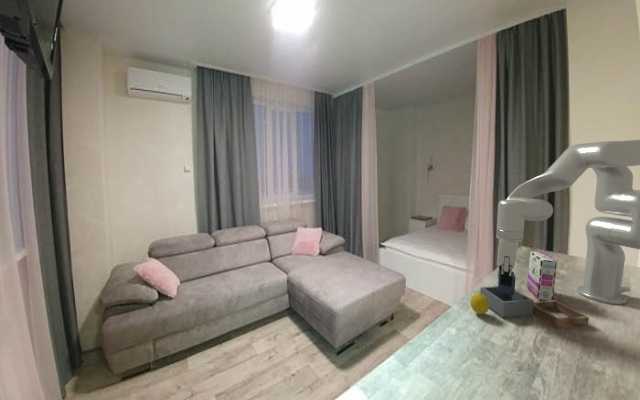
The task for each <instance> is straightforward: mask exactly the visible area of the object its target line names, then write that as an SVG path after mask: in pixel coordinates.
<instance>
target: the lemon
mask: <svg viewBox="0 0 640 400" xmlns="http://www.w3.org/2000/svg"><path fill="white" fill-rule="evenodd" d="M470 307H471V309H472V311H474V312H475V314H478V315H479V316H481V315H484V314H486V313H488V311H489V310H490V309H489V302H488V299H487V298H486V297H485V296H484V295H482V294H481V293H475V294H473V295H472V296H471V298H470Z"/></svg>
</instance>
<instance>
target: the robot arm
mask: <svg viewBox="0 0 640 400" xmlns="http://www.w3.org/2000/svg"><path fill="white" fill-rule="evenodd" d="M563 151H564V152H562V154H561V155H560V156H559V157H558V158H557V159H556V160H555V161H554V162H553V163H552V164H551V165H550V167H548V169H547V170H546V171H545V172H544V173H542V174H539V175H537V176H535V177H532V178H531V179H529V180H527V181H525V182H524V183H523V182H522V184H520V185H519V186H517V187H516V188H515V189H514V190H512V191H511V193H510V194H509V195H508V196H507V198H505V199H502V200H499V202H498V204H497V215H496V216H497V219H496V235H495V237H496V238H497V239H498V247H497V260H496V261H497V262H496V265H497V267H499V266H501V265H502V273H501V279H500V284H501V285H505V286H510V287H511V285H512V276H511V272H513V269H515V266H516V262H517V256H518V248H519V242H522V241H523V240H524V231H525V230H524V229H525V221H535V222H541V221H545V220H548V219H549V218H551V217H552V215H553V213H554V207H553V206H552V204H551V203H550V202H548V201H546V200H544V199H539V198H535V197H537V196H540V195H543V194H548V193H552V192H557V191H561V190H565V189H567V188H570V187H572V186H573V184H575V183H576V181H577V180H579V178H580V177H581V176H582V175H583V174H584V173H585V171H586V170H588V169H590V168H591V169H592V170H593V171H594V173H595V176H596V188H595V194H594V195H595V196H594V208H595V209H596V210H597V212H600V213H603V214H608V215H615V216H621V217H622V216H623V217H628V218H629V217H630V218H632V220H629V219H624V218H618V217H617V218H616V217H609V216H596V217H593V218H590V219H589V220H588V221H587V222H586V223H585V224H586V225H585V234H586V240H587V246H586V247H587V248H586V258H585V265H584V277H583V285H580V286H578V287H577V292H578V294H580V295H582V296H583V297H586V298H588V299H591V300H592V301H593V300H594V301H597V302H600V303H604V304H605V303H606V304H610V305H624V304H626V303H627V298H626V297H625V296H624V295H623V293H628V292H631V289H630V287H629V286H622V285H623V278H624V277H623V276H624V270H625V269H624V268H625V261H626V255H625V252H624V250H623V247H626V248H630V249H635V250H640V190H639V189H638V190H637V189H634V187H633V184H634V183H633V182H634V175H633V172H632V171H631V169H630V168H629V167H635V166H640V139H631V140H630V139H629V140H612V141H611V140H610V141H597V142H596V141H594V142H586V143H585V142H584V143H577V144H573V145H570V146H569V147H567V148H566V149H565V150H563Z"/></svg>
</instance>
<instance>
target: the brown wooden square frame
mask: <svg viewBox="0 0 640 400" xmlns="http://www.w3.org/2000/svg"><path fill="white" fill-rule="evenodd" d="M547 310H556V311H558V312H559V313H561V314H563V315H564V316H566V317H559V318H558V317H557V316H554V315H553V314H551V313H550V312H548V311H547ZM533 315H535V316H536V317H538V318H540V319H541V320H543V322H544V321H545V322H546V323H547V324H549V325H551V326H552V327H554V328H555V329H556V330H557V329H570V328H578V327H579V328H580V327H581V328H583V327H588V326H589V320H590V319H589V316H587V315H585V314H583V313H582V312H581V313H580V312H579V311H577V310H575V309H573V308H571V307H569V306H568V305H565V304H563V303H562V302H559V301H558V300H555V299H553V300H549V301H542V300H537V301H534V306H533Z"/></svg>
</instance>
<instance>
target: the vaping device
mask: <svg viewBox="0 0 640 400" xmlns="http://www.w3.org/2000/svg"><path fill="white" fill-rule="evenodd" d="M501 273H502V265H501V266H498V273H497V274H498V275H497V276H498V277H497V278H498V280H497V282H498V283H497V286H498V291H500V292H503V293H505V294H508V295H514V293H515V290H516V289H515V288H516V275H515V272H514V271H512V272H511V276H512V285H511V287H510V286H505V285H501V284H500V279H501Z"/></svg>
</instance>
